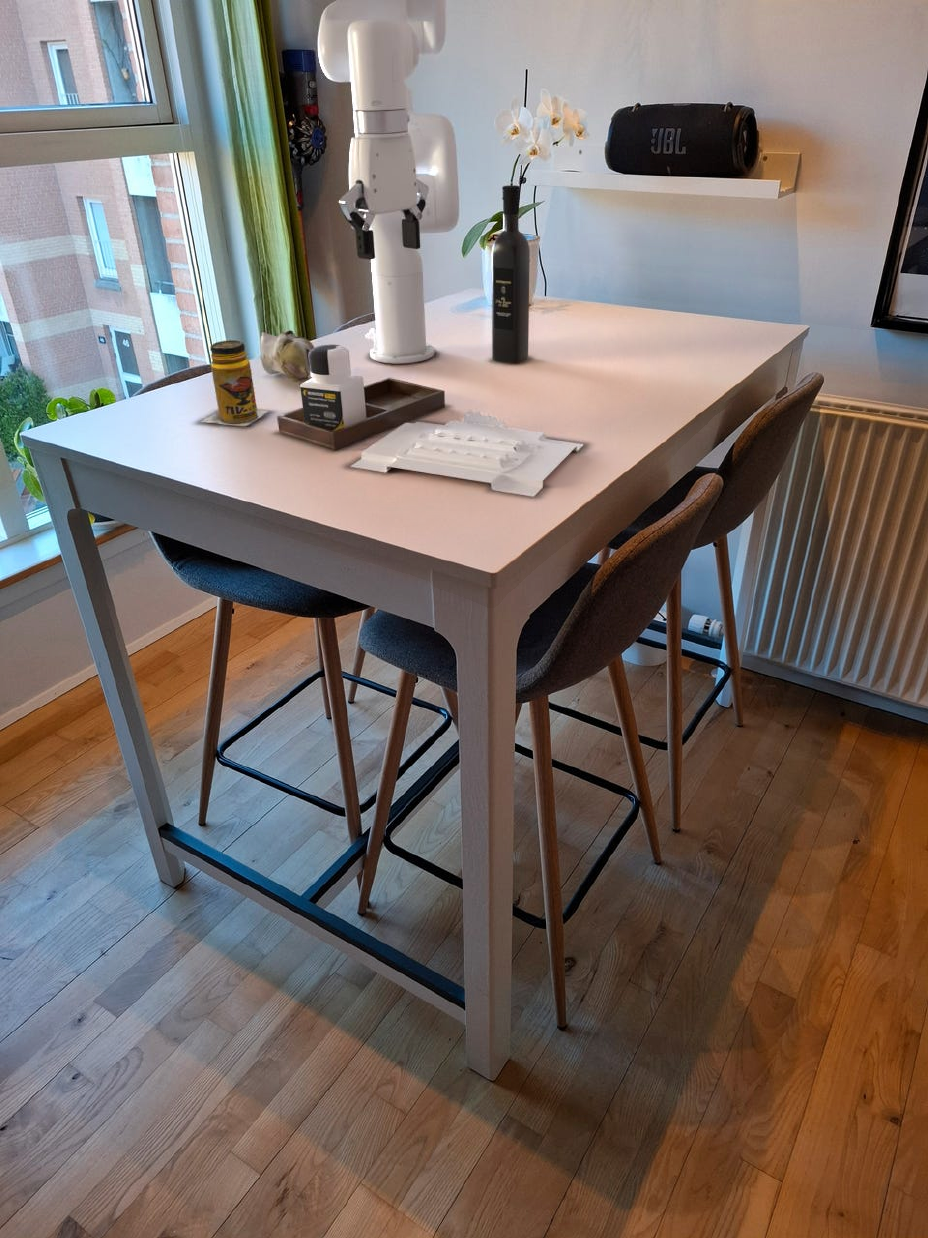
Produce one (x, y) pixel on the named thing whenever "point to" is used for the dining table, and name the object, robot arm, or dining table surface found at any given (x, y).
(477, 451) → the tray
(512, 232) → the wine bottle
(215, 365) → the condiment
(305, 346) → the ceramic sculpture
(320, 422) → the medicine bottle
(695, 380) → the dining table surface
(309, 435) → the dark wooden divided tray
